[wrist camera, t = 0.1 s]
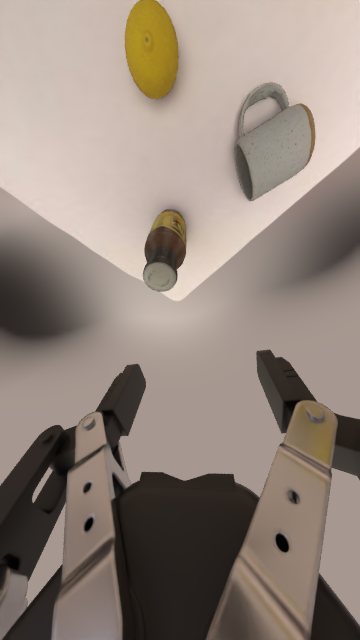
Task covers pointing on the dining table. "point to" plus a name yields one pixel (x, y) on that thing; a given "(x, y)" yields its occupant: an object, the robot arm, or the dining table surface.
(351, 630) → the robot arm
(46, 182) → the dining table surface
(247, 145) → the ceramic mug
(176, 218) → the sauce bottle
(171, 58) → the lemon
